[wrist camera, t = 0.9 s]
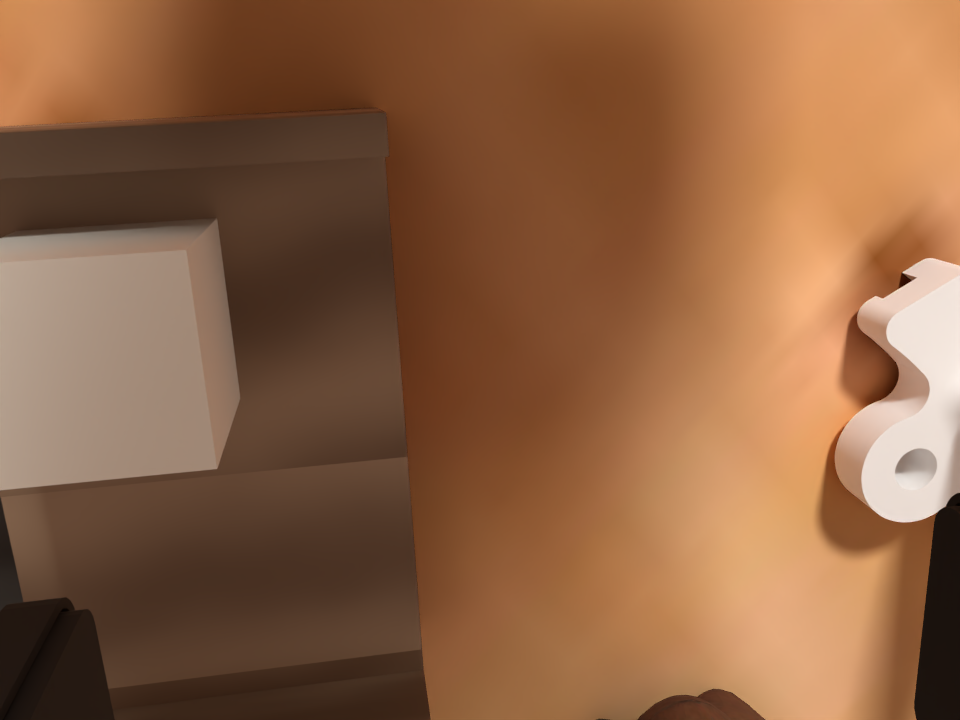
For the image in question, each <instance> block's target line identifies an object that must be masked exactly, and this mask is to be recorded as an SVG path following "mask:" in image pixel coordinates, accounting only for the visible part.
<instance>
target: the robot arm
mask: <svg viewBox="0 0 960 720" xmlns="http://www.w3.org/2000/svg"><path fill="white" fill-rule="evenodd" d="M914 709H915V715H916V719H917V720H960V493H956V494H955V495H953V496H952V497H951V498H950V499H949V501H948V503H947V504H946V507H944V508H942V509H940V510H939V512H938V513H937V515H936V518H935V522H934V531H933V540H932V549H931V558H930V567H929V576H928V585H927V594H926V603H925V612H924V621H923V630H922V639H921V648H920V657H919V666H918V675H917V684H916V693H915V701H914ZM0 720H115V719H114V714H113V709H112V704H111V699H110V694H109V689H108V684H107V679H106V674H105V669H104V664H103V660H102V655H101V650H100V645H99V640H98V635H97V630H96V625H95V621H94V617H93V615H92V613H91V611H90V610H88V609H82V610H75V608H74V606H73V604H72V602H71V600H69V599H68V598H67V597H63V598H54V599H46V600H37V601H29V602H20V603H12V604H7V605H6V606H5V607H4V608H3V609H2V610H1V611H0Z"/></svg>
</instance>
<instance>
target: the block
mask: <svg viewBox="0 0 960 720" xmlns="http://www.w3.org/2000/svg"><path fill="white" fill-rule="evenodd" d="M239 401H240V391H239V383H238V376H237V368H236V360H235V353H234V345H233V337H232V329H231V322H230V314H229V306H228V299H227V291H226V283H225V276H224V268H223V260H222V253H221V245H220V237H219V229H218V222H217V218H210V219H195V220H179V221H164V222H148V223H133V224H118V225H102V226H87V227H71V228H56V229H40V230H25V231H15V232H13V233H11V234H9V235H6V236H4V237H2V238H0V490H9V489H19V488H29V487H39V486H49V485H60V484H70V483H80V482H90V481H100V480H110V479H121V478H131V477H141V476H151V475H161V474H171V473H182V472H192V471H202V470H212V469H217V468H218V465H219V462H220V459H221V456H222V453H223V450H224V447H225V444H226V441H227V438H228V434H229V431H230V428H231V425H232V422H233V419H234V416H235V413H236V410H237V407H238V404H239Z"/></svg>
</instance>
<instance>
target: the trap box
mask: <svg viewBox="0 0 960 720" xmlns="http://www.w3.org/2000/svg"><path fill="white" fill-rule="evenodd" d="M387 156H389V146H388V132H387V119H386V113H385V112H384V111H382V110H380V109H378V108H358V109H338V110H319V111H299V112H279V113H260V114H240V115H221V116H201V117H182V118H162V119H143V120H123V121H103V122H84V123H64V124H45V125H25V126H6V127H0V238H2V237H4V236H6V235H9V234H11V233H13V232H15V231H25V230H40V229H56V228H71V227H87V226H102V225H118V224H133V223H148V222H164V221H179V220H195V219H210V218H217V222H218V229H219V237H220V245H221V253H222V260H223V268H224V276H225V283H226V291H227V299H228V306H229V314H230V322H231V329H232V337H233V345H234V353H235V360H236V368H237V376H238V383H239V391H240V401H239V404H238V407H237V410H236V413H235V416H234V419H233V422H232V425H231V428H230V431H229V434H228V438H227V441H226V444H225V447H224V450H223V453H222V456H221V459H220V462H219V465H218V468H217V469H212V470H202V471H192V472H182V473H171V474H161V475H151V476H141V477H131V478H121V479H110V480H100V481H90V482H80V483H70V484H60V485H49V486H39V487H29V488H19V489H9V490H0V611H1V610H2V609H3V608H4V607H5V606H6V605H7V604H12V603H20V602H29V601H37V600H46V599H54V598H63V597H67V598H68V599H69V600H71V602H72V604H73V606H74V608H75V610H82V609H88V610H90V611H91V613H92V615H93V617H94V621H95V625H96V630H97V635H98V640H99V645H100V650H101V655H102V660H103V664H104V669H105V674H106V679H107V684H108V689H109V694H110V699H111V704H112V709H113V714H114V719H115V720H431V719H430V712H429V705H428V698H427V691H426V684H425V677H424V670H423V656H422V643H421V630H420V616H419V603H418V589H417V576H416V563H415V549H414V536H413V523H412V509H411V496H410V483H409V469H408V456H407V443H406V429H405V416H404V403H403V389H402V376H401V363H400V349H399V336H398V323H397V309H396V296H395V283H394V269H393V256H392V243H391V229H390V216H389V203H388V189H387V176H386V163H385V157H387Z"/></svg>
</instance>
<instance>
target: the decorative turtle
mask: <svg viewBox="0 0 960 720" xmlns="http://www.w3.org/2000/svg"><path fill="white" fill-rule="evenodd" d="M597 720H608V719H597ZM638 720H765V719H764V718H763V717H761V716H760V715H759V714H758V713H757V712H756V711H755V710H753V709H752V708H751V707H750V706H749V705H748V704H747V703H745V702H744V701H742V700H741V699H740V698H738V697H737V696H736V695H734V694H733V693H731V692H727V691H724V690H721V689H711V690H708V691H706V692H704V693H703V694H701V695H700V696H699V697H694V696H689V695H677V696H672V697H669V698H666V699H664V700H662V701H660V702H658V703H656V704H654V705H653V706H652V707H651V708H650V709H648V710H647V711H646V712H645V713H644V714H642V715H641V716H640V717H639V719H638Z"/></svg>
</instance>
